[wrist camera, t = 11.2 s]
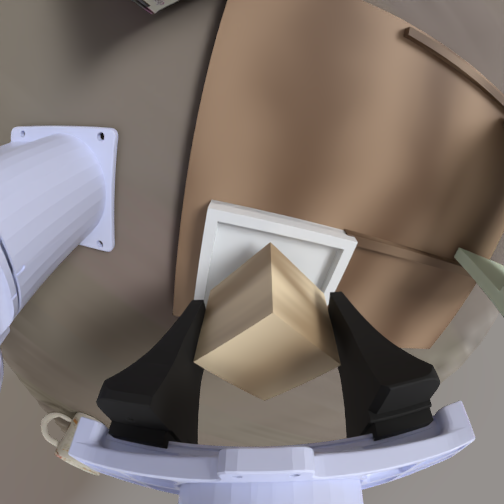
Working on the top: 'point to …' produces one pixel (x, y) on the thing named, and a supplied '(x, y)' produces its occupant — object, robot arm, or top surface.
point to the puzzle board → (352, 152)
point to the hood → (484, 275)
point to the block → (267, 328)
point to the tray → (259, 235)
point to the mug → (66, 438)
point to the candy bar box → (154, 4)
